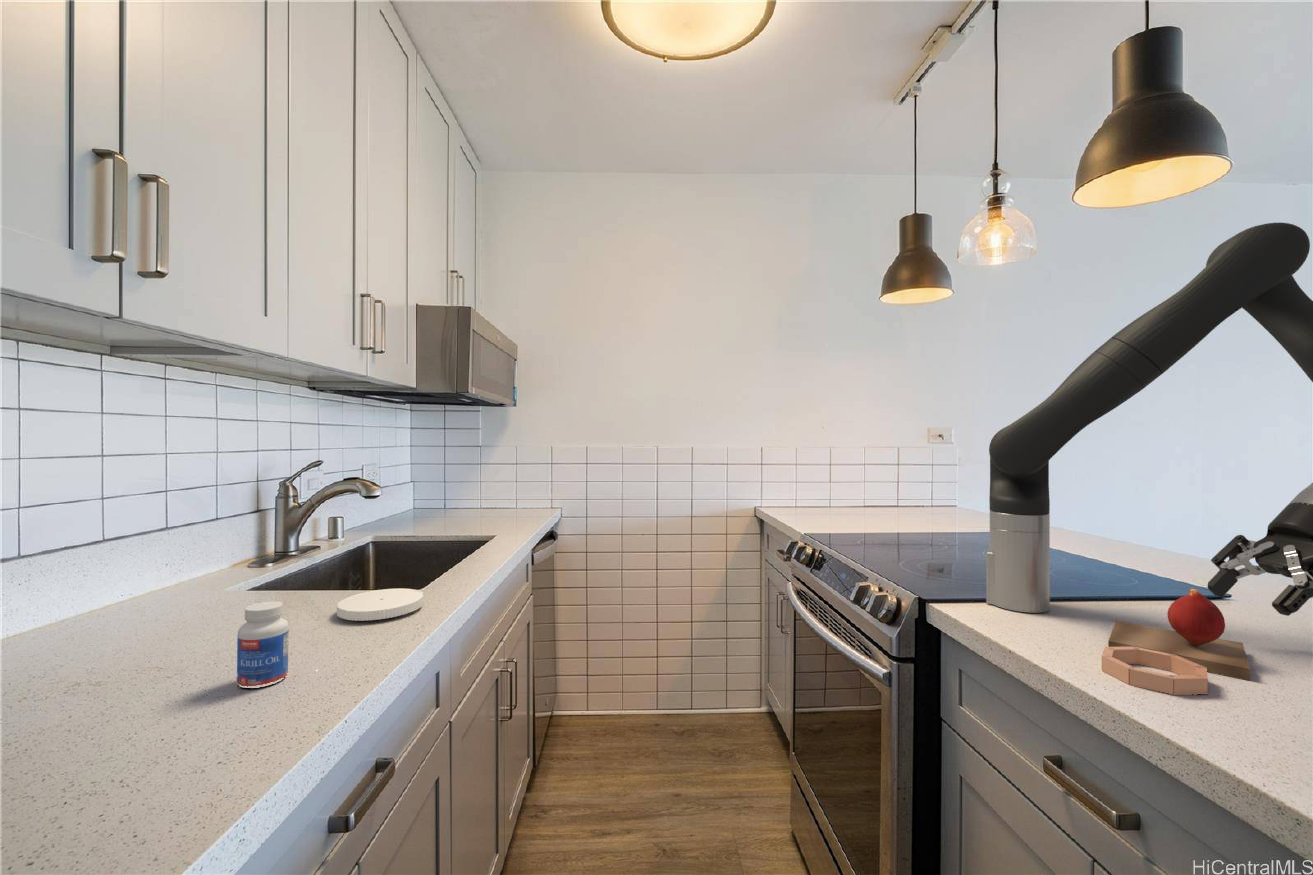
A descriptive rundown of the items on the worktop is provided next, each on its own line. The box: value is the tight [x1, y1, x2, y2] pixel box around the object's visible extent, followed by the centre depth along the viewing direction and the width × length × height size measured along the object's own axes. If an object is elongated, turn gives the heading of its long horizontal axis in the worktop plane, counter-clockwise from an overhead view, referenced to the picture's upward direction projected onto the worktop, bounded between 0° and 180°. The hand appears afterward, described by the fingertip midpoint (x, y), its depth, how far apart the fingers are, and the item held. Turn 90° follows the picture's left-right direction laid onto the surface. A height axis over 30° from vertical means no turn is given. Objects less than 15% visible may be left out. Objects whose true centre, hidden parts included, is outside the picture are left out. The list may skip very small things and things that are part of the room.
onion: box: [1167, 588, 1226, 646], centre depth 78 cm, size 6×6×8 cm
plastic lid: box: [336, 587, 425, 622], centre depth 99 cm, size 14×14×2 cm
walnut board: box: [1107, 620, 1251, 681], centre depth 79 cm, size 14×12×2 cm
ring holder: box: [1101, 646, 1209, 696], centre depth 71 cm, size 10×10×2 cm
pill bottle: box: [236, 601, 290, 687], centre depth 71 cm, size 6×5×10 cm
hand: (1244, 601), depth 78 cm, fingers open, 8 cm apart
